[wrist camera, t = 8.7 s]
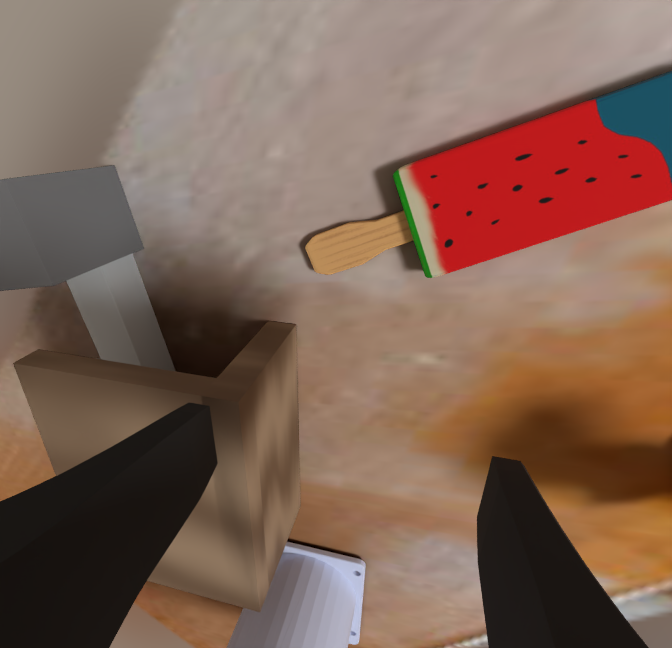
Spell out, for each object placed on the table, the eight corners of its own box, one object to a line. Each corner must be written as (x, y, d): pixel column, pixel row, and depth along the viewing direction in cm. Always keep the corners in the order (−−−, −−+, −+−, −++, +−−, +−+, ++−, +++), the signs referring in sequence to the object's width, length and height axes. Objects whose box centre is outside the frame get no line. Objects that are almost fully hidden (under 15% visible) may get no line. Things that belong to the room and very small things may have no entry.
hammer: (217, 454, 26) (165, 528, 21) (164, 452, 27) (104, 522, 23) (114, 165, 19) (4, 178, 14) (49, 177, 20) (-73, 194, 16)
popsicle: (285, 213, 17) (728, 38, 12) (296, 207, 19) (700, 46, 13) (325, 309, 19) (736, 191, 13) (333, 297, 20) (710, 185, 15)
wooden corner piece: (300, 505, 26) (260, 612, 21) (162, 475, 28) (90, 564, 23) (296, 324, 21) (238, 402, 15) (123, 302, 23) (12, 363, 17)
